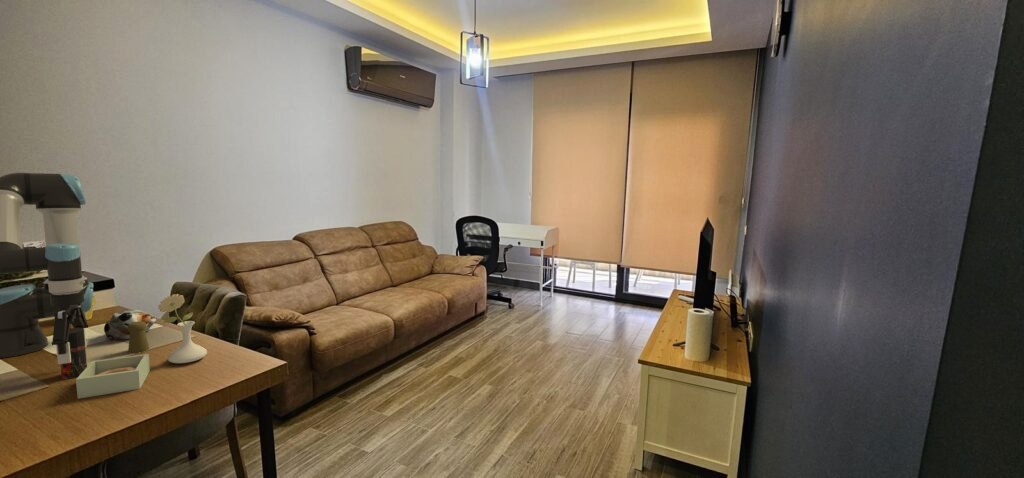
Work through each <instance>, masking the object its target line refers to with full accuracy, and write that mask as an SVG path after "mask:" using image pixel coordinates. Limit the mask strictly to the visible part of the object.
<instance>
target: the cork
mask: <svg viewBox="0 0 1024 478" xmlns="http://www.w3.org/2000/svg"><path fill="white" fill-rule="evenodd" d="M145 329H146V323H145V322H142V321H138V322H133V323H130V324H129V325H128V331H129V332H130V338H129V339H128V340H129V342H128V347H127V348H128V351H127V353H128V352H129V353H128V354H131V353H135V354H140V353H139V352H141V353H145V352H147V351H149V350H150V346H149V342H148V338H147V334H146V332H145ZM148 349H149V350H148ZM144 351H145V352H144Z"/></svg>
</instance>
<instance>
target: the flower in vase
mask: <svg viewBox="0 0 1024 478" xmlns="http://www.w3.org/2000/svg"><path fill="white" fill-rule="evenodd" d="M159 303H160V304H158V307H157V308H158V310H159V312H162V313H164V312H166V313H171V312H173V311H174V312H175V314H176V316H170V317H168V318H166V319H164V321H163V322H162V323H163V324H169V323H174V322H175V321H176V320H180V321H181V322H178V323H177V324H176V326H178V327H179V329H180V330H181V333H182V343H181V345H179V346H178V347H177V348H175V349H174V350H173V351H172V352H171V353H170V354H169V355H168V356H167V360H168V362H170V363H172V364H188V363H192V362H193V363H194V362H195V361H198V360H199V361H200V359H203V358H204V357H206V356H207V354H208V350H207V349H206V348H204V347H203V346H201V345H199V344H196V343H194V342H193V341H192V337H191V336H192V327H193V326H194V324H195V323H196V322H195V321H193V320H191V318H192V316H193V315H194V311H191V312H189V313H188V314H185V315H184V316H183V317H182V319H181V318H180V317H179V315H178V312H177V309H179V308H181V307H182V306H183V304H184V303H185V298H184V295H181V294H179V293H176V294H174V293H173V294H172V295H167V297H165V298H164V299H162V301H160V302H159Z"/></svg>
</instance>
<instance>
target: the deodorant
mask: <svg viewBox="0 0 1024 478" xmlns="http://www.w3.org/2000/svg"><path fill="white" fill-rule="evenodd" d="M84 329H85V328H74V327H70V332H69V337H68V342H69V344H70V354H71V363H65V364H59V365H60V373H61V379H64V380H66V379H67V380H69V379H77V378H78V377H79V375H80V374H81V373H82V372H83V371H84V370H85V369H86V368H87V366H88V361H87V352H86V351H87V350H86V348H87V347H86V348H85V338H84ZM60 340H61V339H60Z"/></svg>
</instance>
